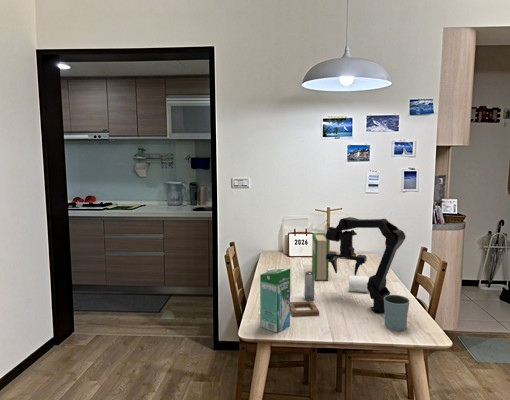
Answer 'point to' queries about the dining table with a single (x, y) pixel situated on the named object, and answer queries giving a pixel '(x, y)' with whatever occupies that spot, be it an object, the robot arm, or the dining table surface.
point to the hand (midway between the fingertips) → (345, 274)
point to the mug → (358, 283)
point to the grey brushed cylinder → (309, 286)
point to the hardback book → (320, 256)
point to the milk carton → (275, 299)
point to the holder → (297, 313)
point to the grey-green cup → (396, 312)
